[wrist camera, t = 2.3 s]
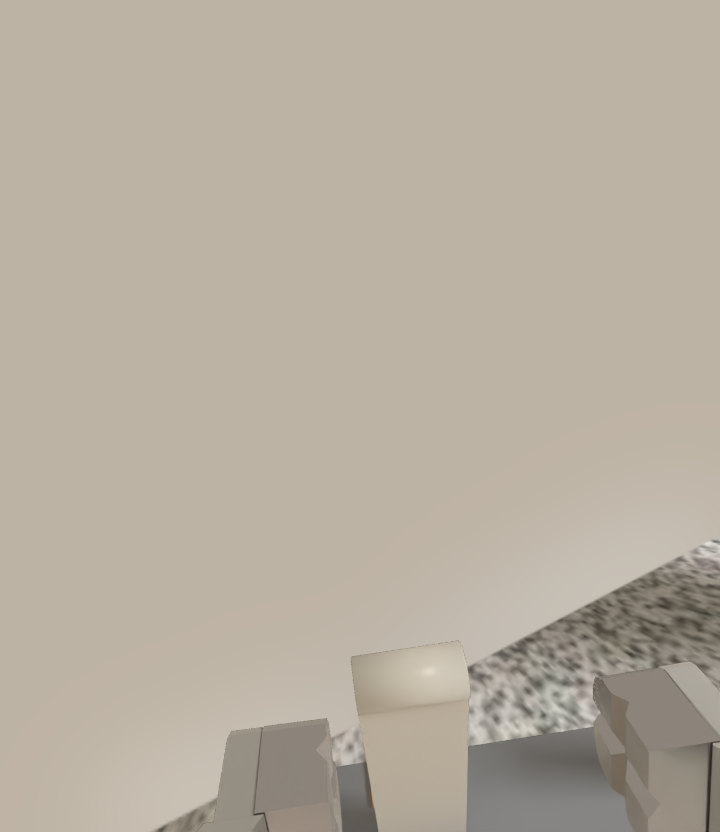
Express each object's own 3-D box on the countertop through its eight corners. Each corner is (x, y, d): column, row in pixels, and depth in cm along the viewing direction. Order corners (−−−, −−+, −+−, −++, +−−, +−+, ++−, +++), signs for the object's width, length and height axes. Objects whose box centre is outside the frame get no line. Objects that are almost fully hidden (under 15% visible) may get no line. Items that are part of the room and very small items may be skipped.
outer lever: (457, 799, 32) (457, 629, 24) (467, 844, 31) (470, 678, 22) (377, 812, 32) (349, 645, 24) (382, 858, 31) (354, 696, 22)
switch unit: (803, 736, 38) (807, 689, 37) (968, 907, 29) (980, 850, 28) (325, 811, 37) (317, 765, 36) (330, 1016, 28) (319, 960, 27)
